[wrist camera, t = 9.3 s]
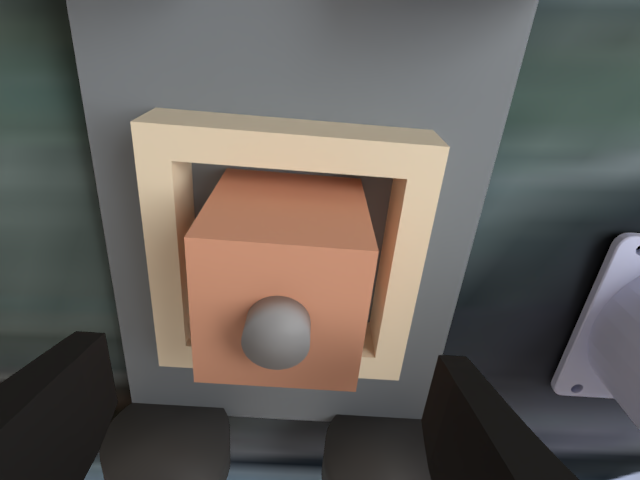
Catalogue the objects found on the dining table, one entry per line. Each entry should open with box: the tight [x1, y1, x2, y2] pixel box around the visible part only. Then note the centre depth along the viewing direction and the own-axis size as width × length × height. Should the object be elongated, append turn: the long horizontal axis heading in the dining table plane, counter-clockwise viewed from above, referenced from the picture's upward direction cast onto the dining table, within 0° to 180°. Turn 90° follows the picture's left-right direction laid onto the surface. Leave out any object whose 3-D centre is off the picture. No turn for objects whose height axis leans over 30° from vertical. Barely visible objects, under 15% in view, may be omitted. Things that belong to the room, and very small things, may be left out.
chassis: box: [66, 0, 539, 480], centre depth 14 cm, size 14×21×5 cm, turn 175°
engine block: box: [184, 168, 379, 392], centre depth 13 cm, size 4×4×6 cm
